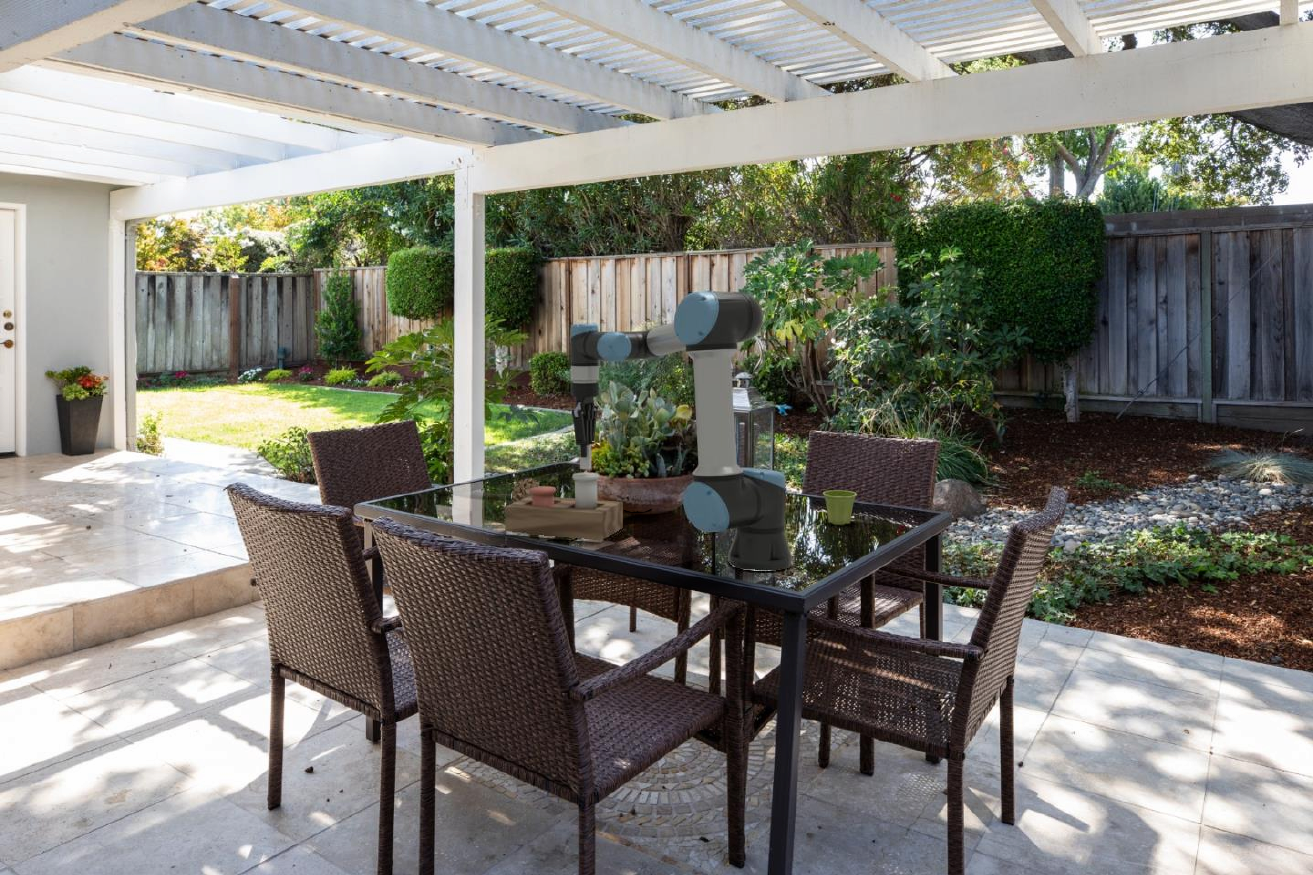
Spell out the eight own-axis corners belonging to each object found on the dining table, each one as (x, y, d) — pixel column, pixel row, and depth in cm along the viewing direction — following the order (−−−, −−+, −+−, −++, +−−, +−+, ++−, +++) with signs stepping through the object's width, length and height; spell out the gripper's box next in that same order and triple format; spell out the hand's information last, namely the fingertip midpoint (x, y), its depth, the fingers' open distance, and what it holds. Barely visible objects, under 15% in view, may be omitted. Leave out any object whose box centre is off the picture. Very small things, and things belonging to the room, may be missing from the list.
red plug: (549, 531, 251) (548, 491, 250) (525, 529, 254) (525, 490, 252) (560, 525, 258) (560, 487, 257) (537, 524, 261) (536, 485, 259)
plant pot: (856, 527, 260) (856, 497, 259) (822, 525, 262) (822, 495, 261) (855, 520, 269) (856, 490, 268) (822, 518, 271) (823, 489, 270)
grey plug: (593, 518, 247) (593, 477, 245) (568, 516, 249) (568, 476, 248) (603, 512, 253) (603, 473, 252) (579, 511, 256) (579, 472, 254)
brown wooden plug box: (601, 543, 242) (600, 513, 241) (505, 535, 251) (504, 506, 250) (622, 529, 257) (622, 501, 256) (532, 522, 266) (531, 495, 265)
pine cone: (512, 506, 289) (511, 475, 287) (543, 505, 290) (542, 474, 289) (510, 522, 267) (509, 488, 266) (543, 521, 268) (543, 487, 267)
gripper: (581, 379, 254) (582, 464, 257) (561, 383, 242) (562, 471, 245) (606, 380, 251) (607, 465, 255) (588, 383, 239) (589, 473, 242)
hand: (585, 468), depth 250 cm, fingers closed
